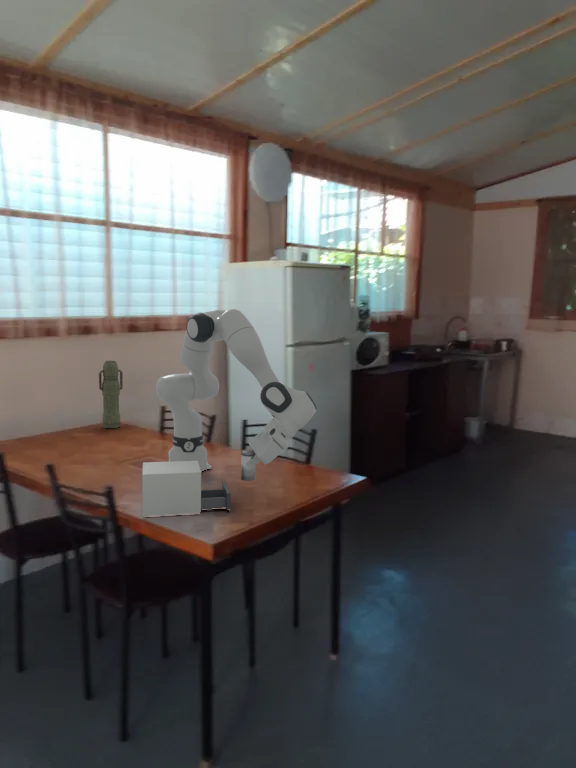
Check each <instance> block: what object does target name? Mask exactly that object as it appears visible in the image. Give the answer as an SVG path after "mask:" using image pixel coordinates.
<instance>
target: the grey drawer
mask: <svg viewBox="0 0 576 768" xmlns="http://www.w3.org/2000/svg"><path fill="white" fill-rule="evenodd" d="M221 483H222V484H221V487H222V488H216V489H214V488H213V489H201V510H202V509H212V508H222V507H226V509H230V510H231V491H230V488H229V486H228V484H227V481H225V480H224V481H221Z"/></svg>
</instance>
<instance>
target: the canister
mask: <svg viewBox="0 0 576 768" xmlns="http://www.w3.org/2000/svg"><path fill="white" fill-rule="evenodd" d="M255 455H256V454H255V452H254V451H253V450H251V449H243V450H240V462H241V463H240V480H242V481H245V482H252V481H255V480H256V465H254V466H253V467H252V468H251V469H249V468H248V467H247V466H246V463H248V461H251V460H252V459H253V458H254V456H255Z"/></svg>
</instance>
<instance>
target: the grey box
mask: <svg viewBox="0 0 576 768" xmlns="http://www.w3.org/2000/svg"><path fill="white" fill-rule="evenodd" d="M141 480H142V483H141V484H142V517H143V516H149V515H165V514H178V513H193V512H201V513H202V511H201V490H202V472H201V470H200V467H199V463H198V461H174V462H168V461H150V462H149V461H148V462H142V479H141Z"/></svg>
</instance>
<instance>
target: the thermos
mask: <svg viewBox="0 0 576 768" xmlns="http://www.w3.org/2000/svg"><path fill="white" fill-rule="evenodd" d="M123 374H124V373H123V371H122V370H121V369H119V366H118V362H117V361H116V360H106V361H104V363H103V366H102V370H100V371H99V373H98V389H99V390H100V391H101V394H102V396H103V398H102V400H103V401H102V402H103V403H102V405H103V406H102V407H103V408H102V409H103V413H102V428H103V429H104V428H117V429H119V428H118V427H120V428H121V424H120V423H121V414H120V395H121V394H120V393H121V390H123V388H124V387H123V386H124V383H123V379H124V378H123V377H124V375H123ZM102 377H103V381H102Z"/></svg>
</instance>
